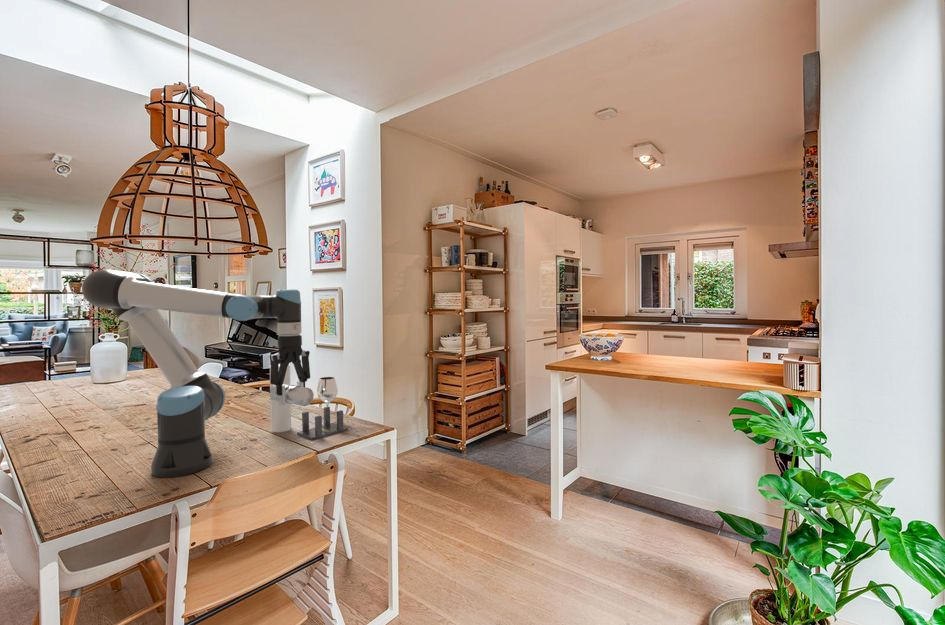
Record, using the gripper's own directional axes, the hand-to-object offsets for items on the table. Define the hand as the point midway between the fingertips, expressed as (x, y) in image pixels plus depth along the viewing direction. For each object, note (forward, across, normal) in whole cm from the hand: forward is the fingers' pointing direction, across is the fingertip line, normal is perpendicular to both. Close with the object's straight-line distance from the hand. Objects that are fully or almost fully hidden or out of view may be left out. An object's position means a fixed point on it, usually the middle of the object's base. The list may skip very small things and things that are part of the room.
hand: (291, 402), depth 147 cm
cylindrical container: (+15, +8, +20) cm, 27 cm away
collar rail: (+15, +15, +4) cm, 22 cm away
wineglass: (+15, +25, +14) cm, 33 cm away
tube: (0, 0, 0) cm, 0 cm away
